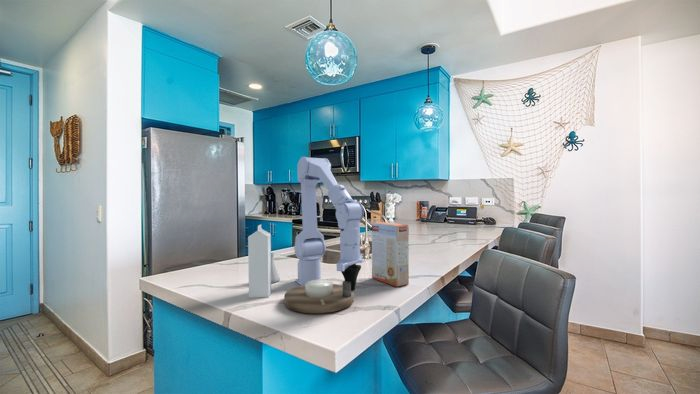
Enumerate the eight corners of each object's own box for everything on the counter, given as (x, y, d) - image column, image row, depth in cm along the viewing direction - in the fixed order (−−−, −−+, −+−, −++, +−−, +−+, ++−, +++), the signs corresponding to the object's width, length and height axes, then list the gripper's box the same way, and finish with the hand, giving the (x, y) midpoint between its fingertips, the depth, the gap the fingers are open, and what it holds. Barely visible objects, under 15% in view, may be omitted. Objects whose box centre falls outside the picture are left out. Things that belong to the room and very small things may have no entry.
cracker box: (409, 284, 109) (409, 224, 109) (396, 287, 106) (396, 225, 106) (384, 275, 121) (383, 221, 121) (371, 278, 118) (371, 222, 117)
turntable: (284, 292, 101) (283, 273, 100) (345, 287, 105) (345, 269, 105) (284, 316, 81) (284, 293, 81) (360, 309, 85) (360, 287, 85)
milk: (248, 298, 97) (247, 226, 96) (252, 291, 103) (251, 224, 102) (269, 297, 97) (267, 225, 97) (271, 291, 103) (270, 223, 103)
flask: (274, 284, 111) (274, 256, 111) (255, 283, 112) (255, 255, 112) (283, 278, 118) (282, 252, 118) (265, 277, 120) (264, 251, 119)
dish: (303, 290, 96) (303, 280, 96) (330, 288, 98) (329, 278, 98) (306, 299, 88) (306, 288, 88) (335, 296, 90) (335, 286, 90)
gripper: (353, 248, 84) (353, 300, 84) (371, 240, 97) (371, 285, 97) (329, 247, 86) (330, 296, 87) (350, 239, 100) (350, 282, 100)
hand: (350, 290), depth 92 cm, fingers closed
